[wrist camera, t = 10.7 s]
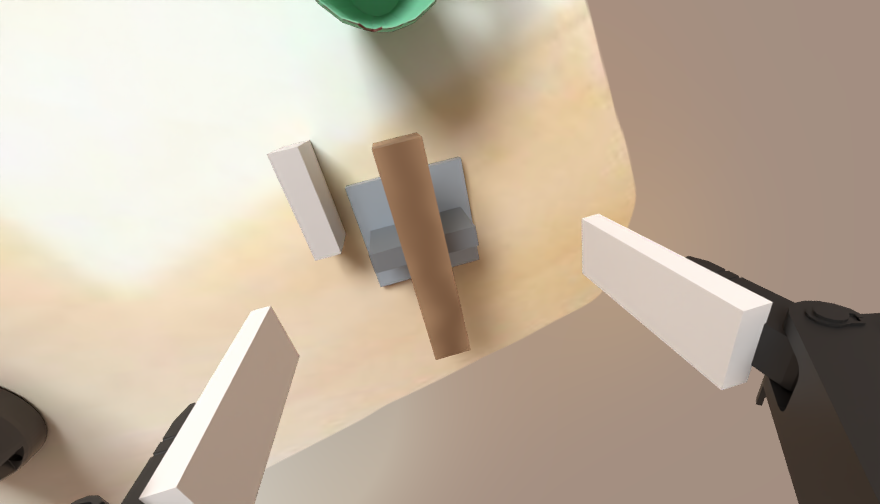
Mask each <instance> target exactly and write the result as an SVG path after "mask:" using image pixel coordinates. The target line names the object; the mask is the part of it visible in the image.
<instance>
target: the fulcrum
mask: <svg viewBox="0 0 880 504" xmlns="http://www.w3.org/2000/svg"><path fill="white" fill-rule="evenodd" d="M428 166H429V170H430V175H431V179H432V183H433V188H434V192H435V196H436V201H437V205H438V209H439V214H440V218H441V222H442V227H443V231H444V236H445V240H446V244H447V249H448V253H449V257H450V262H451V266H452V267H454V266H458V265H461V264H465V263H468V262H472V261H476V260H479V255H478V249H477V245H479V244H478V239H477V233H476V227H475V225H474V224H473V222H472V217H471V211H470V206H469V200H468V195H467V189H466V184H465V178H464V173H463V167H462V162H461V158H460V157H456V158H452V159H448V160H444V161H440V162H436V163H432V164H429V165H428ZM345 190H346V192H347V195H348V198H349V201H350V203H351V206H352V209H353V212H354V214H355V217H356V220H357V223H358V225H359V228H360V231H361V234H362V237H363V239H364V242H365V245H366V248H367V250H368V253H369V257H370V260H371V262H372V265H373V268H374V271H375V273H376V275H377V278H378V281H379V283H380V286H381V287H383V286H386V285H390V284H393V283H397V282H400V281H404V280H408V279H411V276H410V273H409V270H408V266H407V263H406V260H405V257H404V253H403V250H402V247H401V243H400V240H399V237H398V234H397V230H396V227H395V224H394V220H393V217H392V214H391V210H390V207H389V204H388V201H387V197H386V194H385V191H384V187H383V184H382V181H381V178H380V177H378V178H375V179H371V180H367V181H363V182H359V183H355V184H351V185H348V186H346V187H345Z"/></svg>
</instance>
